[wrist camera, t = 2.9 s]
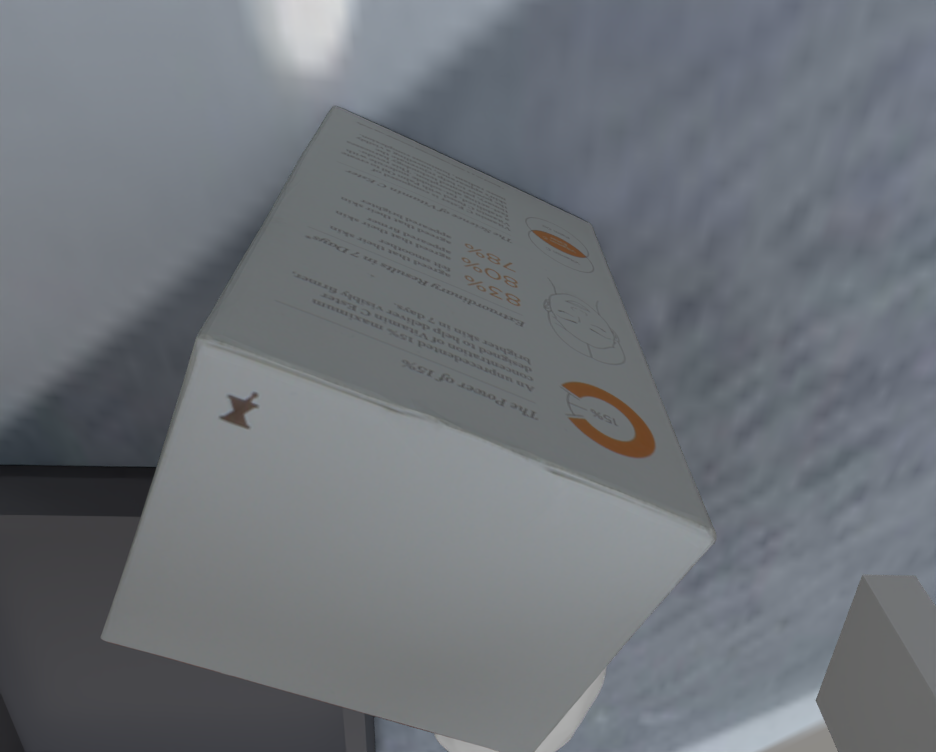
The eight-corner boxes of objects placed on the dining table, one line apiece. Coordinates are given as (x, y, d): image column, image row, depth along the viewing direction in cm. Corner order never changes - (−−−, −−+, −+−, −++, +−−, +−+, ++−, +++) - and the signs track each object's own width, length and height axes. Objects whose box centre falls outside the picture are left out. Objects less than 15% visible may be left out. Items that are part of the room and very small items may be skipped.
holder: (17, 750, 35) (-12, 805, 33) (-104, 463, 27) (-153, 512, 25) (375, 753, 35) (370, 808, 33) (360, 470, 27) (352, 519, 25)
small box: (258, 296, 24) (82, 645, 13) (332, 98, 21) (188, 324, 10) (500, 393, 26) (531, 773, 15) (599, 223, 23) (732, 534, 12)
